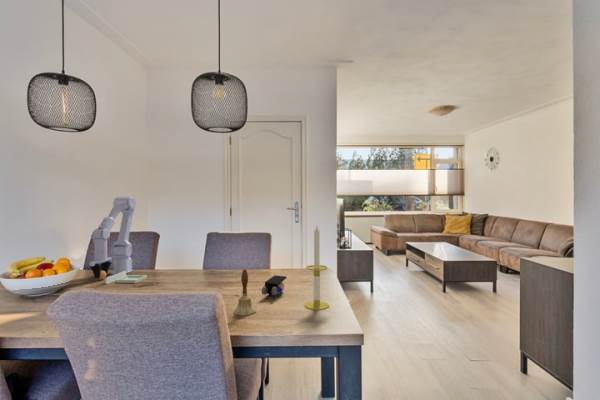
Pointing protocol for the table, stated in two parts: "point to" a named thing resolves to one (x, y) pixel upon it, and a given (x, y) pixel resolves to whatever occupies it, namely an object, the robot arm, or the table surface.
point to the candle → (316, 277)
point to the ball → (102, 275)
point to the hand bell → (244, 299)
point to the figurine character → (273, 286)
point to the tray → (131, 279)
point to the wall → (115, 277)
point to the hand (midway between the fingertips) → (100, 277)
